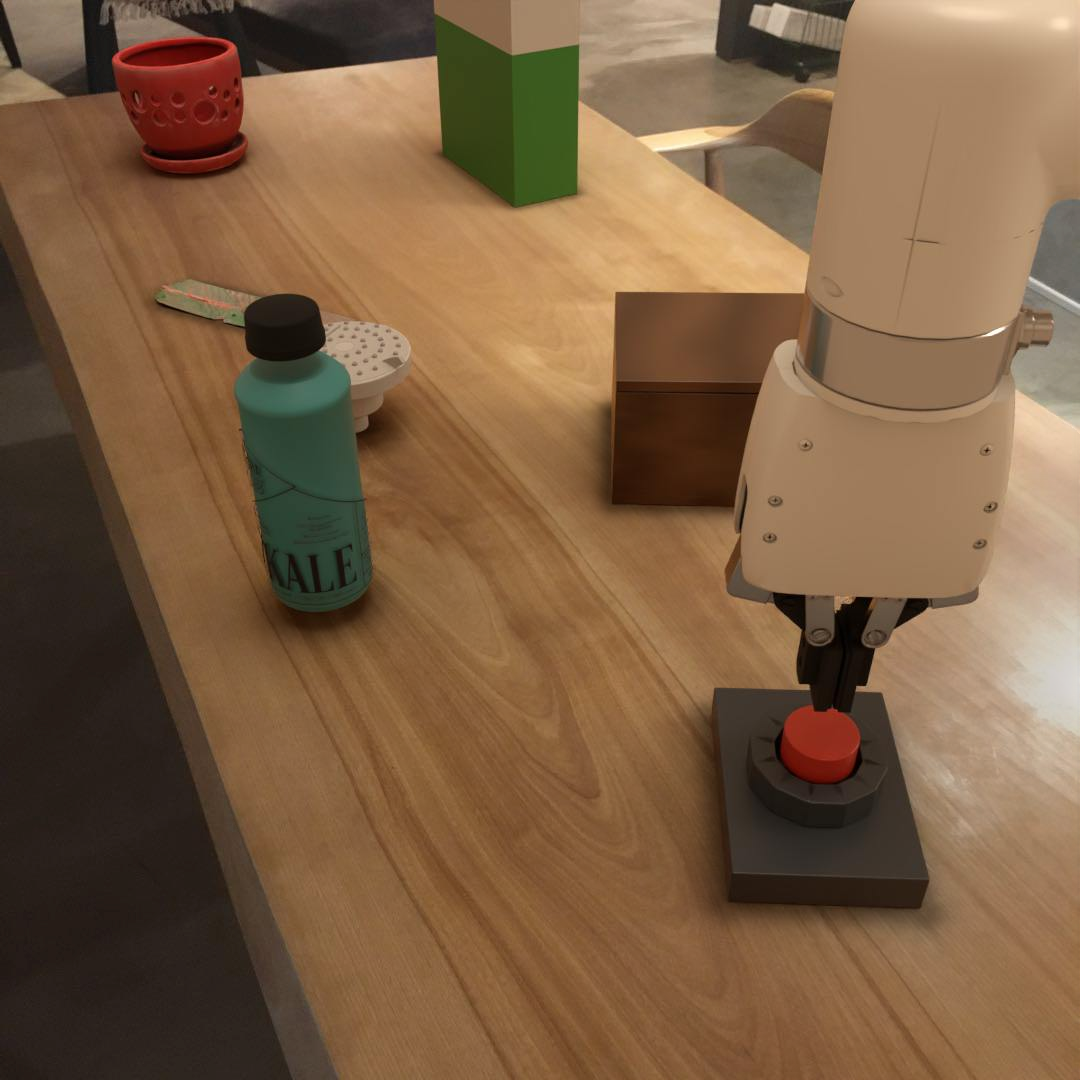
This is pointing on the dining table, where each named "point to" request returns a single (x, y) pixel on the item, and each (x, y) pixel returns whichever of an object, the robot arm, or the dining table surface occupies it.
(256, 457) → the beverage bottle
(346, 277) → the dining table surface
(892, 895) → the control block
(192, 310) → the map
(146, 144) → the plant pot
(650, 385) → the chest lid
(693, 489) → the chest
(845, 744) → the button
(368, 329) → the showerhead
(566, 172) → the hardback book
